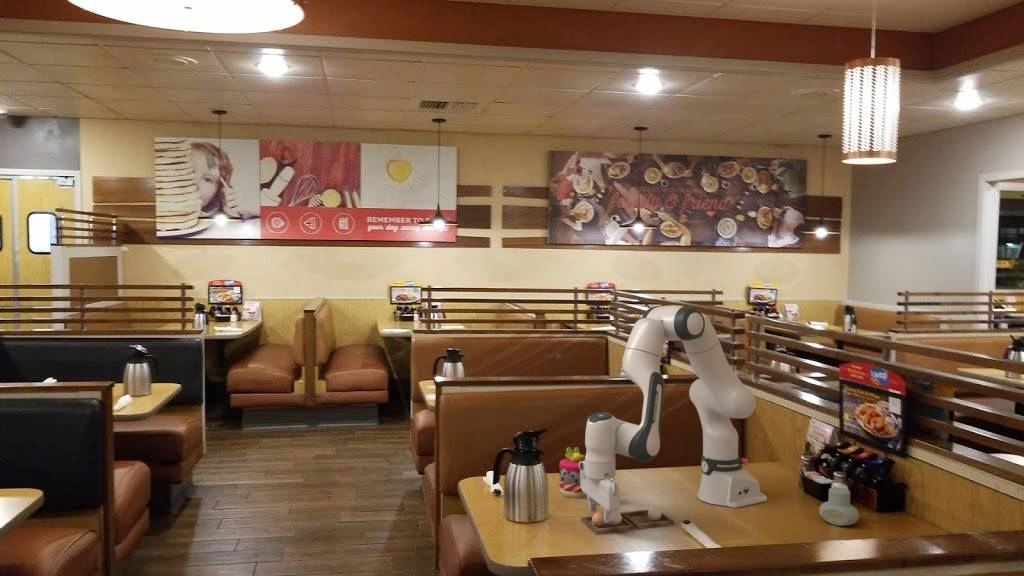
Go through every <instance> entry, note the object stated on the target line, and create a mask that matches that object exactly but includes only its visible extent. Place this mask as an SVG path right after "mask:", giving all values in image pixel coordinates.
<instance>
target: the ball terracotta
mask: <svg viewBox="0 0 1024 576" xmlns="http://www.w3.org/2000/svg"><path fill="white" fill-rule="evenodd" d="M603 515H604V512H600V511H596V512H594V514H593V515H592V516H593V517H592V521H593V523H594V525H596V526H603V525H604V524H605V522H604V521H603Z"/></svg>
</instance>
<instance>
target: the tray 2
mask: <svg viewBox="0 0 1024 576" xmlns="http://www.w3.org/2000/svg"><path fill="white" fill-rule="evenodd" d="M649 509H650V508H648V509H641V510H640V509H639V510H634V511H633V510H632V511H622V512H619V513H620V514H621V516H622V517H623V518H625V519H626V520H627V521H629V522H630V523H631V524H633V525H634V529H636V530H637V531H638V530H646V529H647V530H648V529H654V528H655V529H656V528H662V527H663V528H664V527H672V526H675V521H674V520H673V519H672V518H671V517H669V516H668V515H666V514H665V513H663V512H661V517H660V519H658V520H652V519H650V518H649V516H648V510H649Z"/></svg>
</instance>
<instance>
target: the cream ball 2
mask: <svg viewBox="0 0 1024 576" xmlns="http://www.w3.org/2000/svg"><path fill="white" fill-rule="evenodd" d="M648 509H649V510H648ZM648 509H647V510H648V516H649V518H650V519H652V520H658V519H660V517H661V513H662V510H661V509H660V507H658V506H651V507H649V508H648Z"/></svg>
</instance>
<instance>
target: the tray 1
mask: <svg viewBox="0 0 1024 576" xmlns="http://www.w3.org/2000/svg"><path fill="white" fill-rule="evenodd" d="M592 517H593V515H588V516H580V522H581V523H582V524H583V525H584V526H586V527H587V528H588V529H589V530H590V531H591V532H592V533H593V534H595V535H598V536H599V535H604V534H605V535H606V534H614V533H621V532H629V531H635V528H634V525H633V524H631V523H630V522H629V521H627V520H626V519H625V518H623V517H622V520H621V522H620V523H619V524H618V525H613V524H611V523H610V522H609V523H605V524H604V525H603V526H596V525H594V523H593V521H592Z"/></svg>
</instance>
